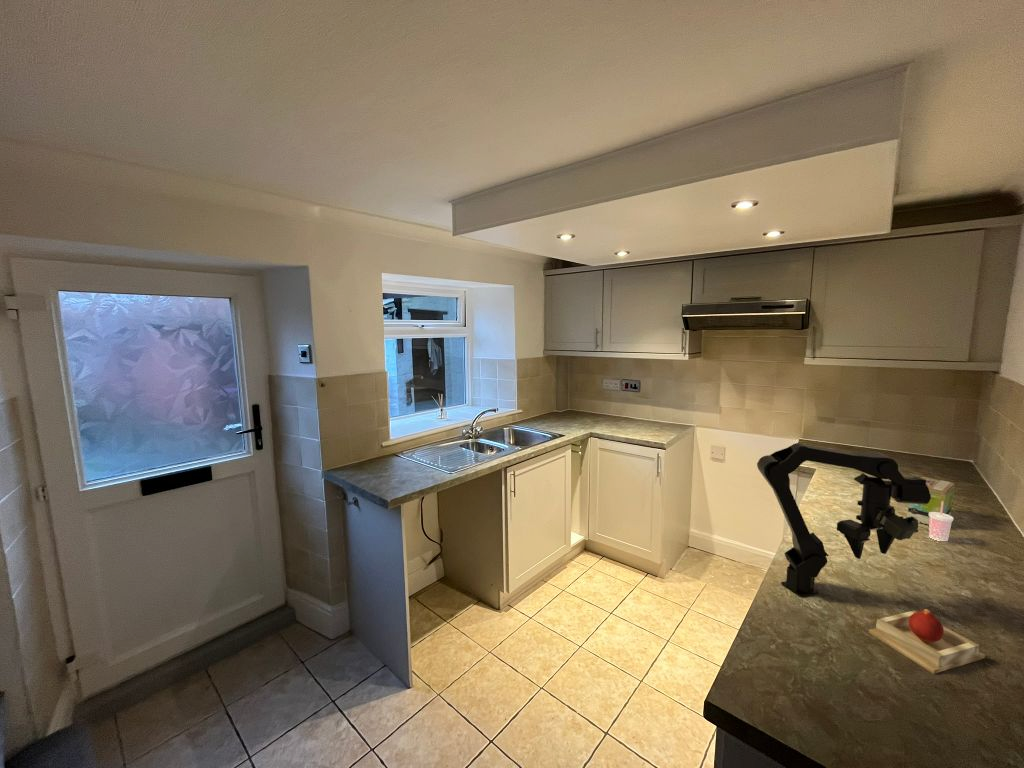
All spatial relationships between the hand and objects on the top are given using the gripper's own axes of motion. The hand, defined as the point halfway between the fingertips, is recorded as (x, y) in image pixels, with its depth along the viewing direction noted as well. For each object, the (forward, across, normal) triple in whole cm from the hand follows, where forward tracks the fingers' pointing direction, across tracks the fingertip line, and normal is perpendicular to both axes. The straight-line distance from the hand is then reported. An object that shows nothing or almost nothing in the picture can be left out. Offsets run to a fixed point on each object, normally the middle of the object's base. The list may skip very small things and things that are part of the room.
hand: (870, 555), depth 116 cm
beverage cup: (+12, +57, +17) cm, 61 cm away
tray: (+12, -6, -17) cm, 22 cm away
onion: (+11, -6, -17) cm, 21 cm away
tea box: (+12, +73, +29) cm, 80 cm away
